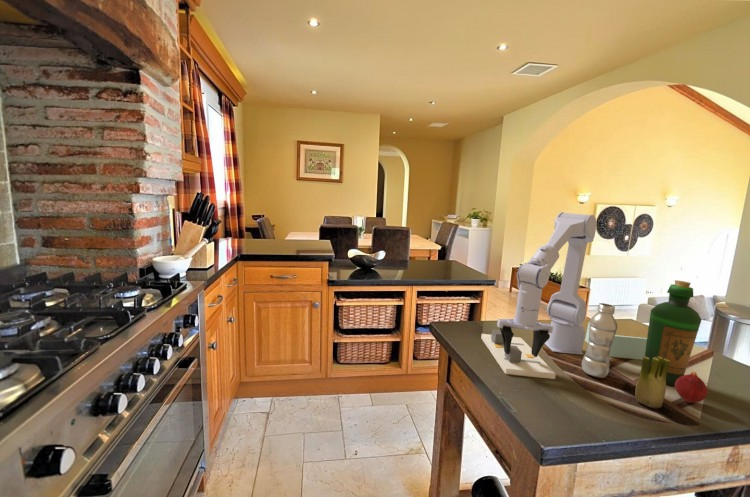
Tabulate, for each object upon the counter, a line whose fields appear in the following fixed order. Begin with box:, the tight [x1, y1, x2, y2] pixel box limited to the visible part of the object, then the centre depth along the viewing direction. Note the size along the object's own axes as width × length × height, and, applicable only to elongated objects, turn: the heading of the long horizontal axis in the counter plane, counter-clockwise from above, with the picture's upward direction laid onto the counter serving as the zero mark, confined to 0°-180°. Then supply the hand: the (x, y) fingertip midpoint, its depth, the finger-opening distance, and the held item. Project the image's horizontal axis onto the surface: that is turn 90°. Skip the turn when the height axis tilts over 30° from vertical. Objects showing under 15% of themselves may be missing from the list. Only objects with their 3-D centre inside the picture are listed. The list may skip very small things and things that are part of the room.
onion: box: [674, 370, 708, 404], centre depth 83 cm, size 6×6×8 cm
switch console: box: [480, 333, 557, 380], centre depth 102 cm, size 13×24×2 cm, turn 178°
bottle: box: [645, 280, 702, 386], centre depth 94 cm, size 11×11×28 cm
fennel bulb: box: [634, 356, 670, 410], centre depth 81 cm, size 6×5×12 cm
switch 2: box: [504, 345, 522, 362], centre depth 96 cm, size 3×4×3 cm
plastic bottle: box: [581, 303, 619, 379], centre depth 93 cm, size 6×7×20 cm
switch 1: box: [490, 328, 504, 344], centre depth 107 cm, size 3×4×3 cm
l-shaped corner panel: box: [584, 321, 647, 361], centre depth 114 cm, size 12×12×8 cm
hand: (520, 354), depth 95 cm, fingers open, 7 cm apart
